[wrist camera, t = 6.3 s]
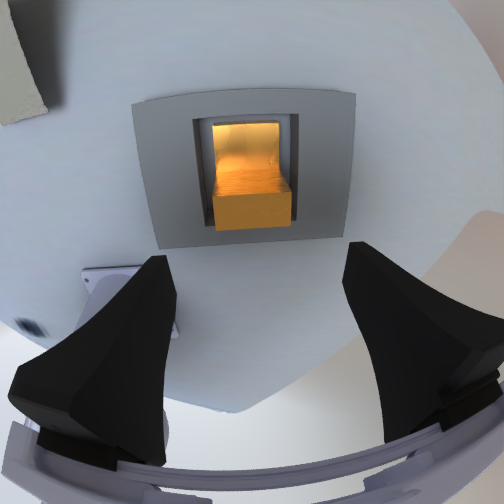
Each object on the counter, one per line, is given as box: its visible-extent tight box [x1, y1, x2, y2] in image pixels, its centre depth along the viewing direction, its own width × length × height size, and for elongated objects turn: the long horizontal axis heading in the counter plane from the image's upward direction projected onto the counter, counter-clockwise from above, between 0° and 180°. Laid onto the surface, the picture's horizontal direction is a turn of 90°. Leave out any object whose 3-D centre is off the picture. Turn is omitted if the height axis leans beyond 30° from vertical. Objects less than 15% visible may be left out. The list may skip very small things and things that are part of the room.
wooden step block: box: [212, 120, 292, 231], centre depth 15 cm, size 5×4×6 cm
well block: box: [131, 88, 356, 249], centre depth 17 cm, size 10×13×2 cm
